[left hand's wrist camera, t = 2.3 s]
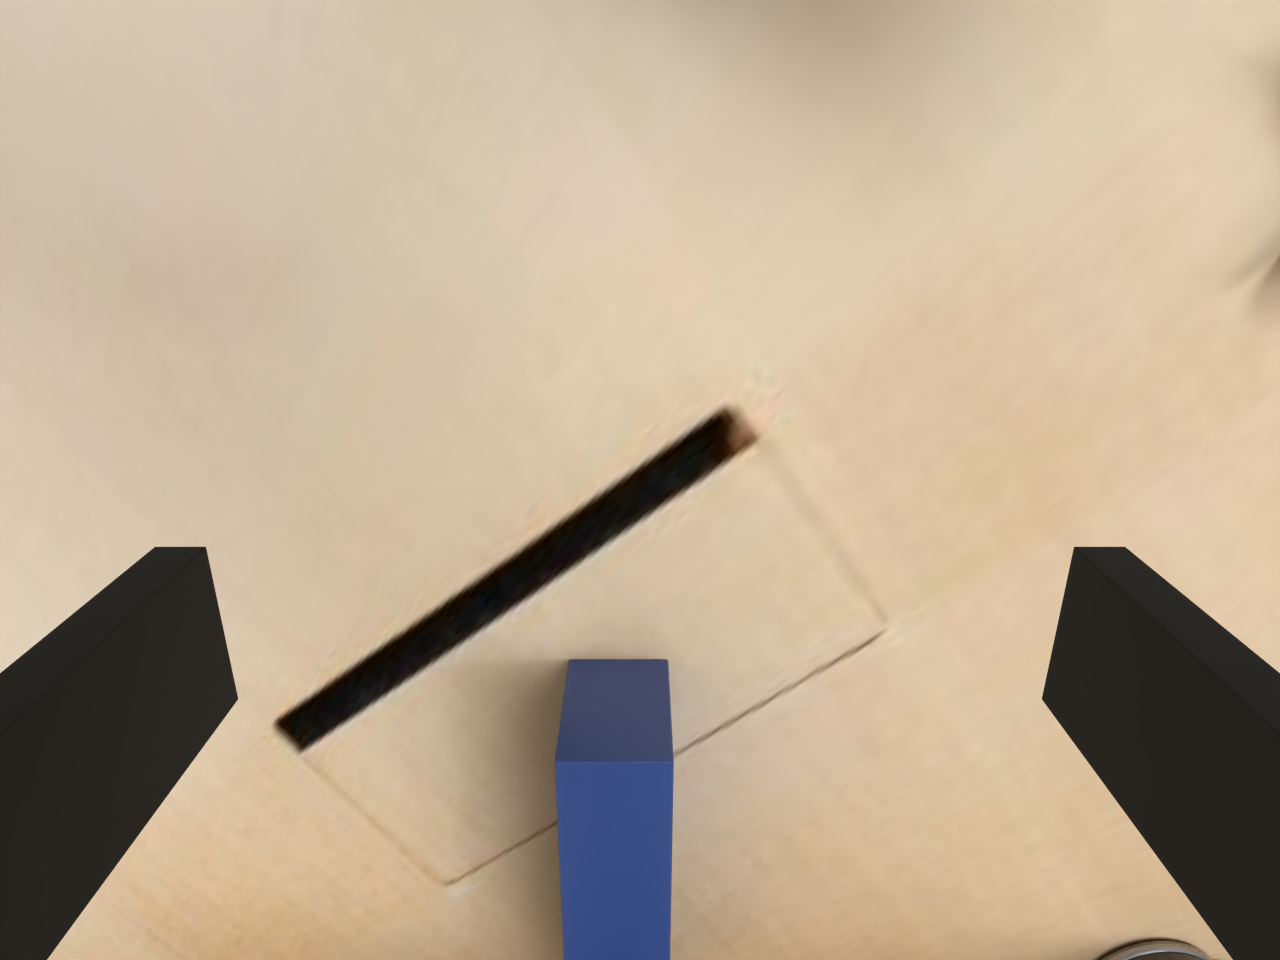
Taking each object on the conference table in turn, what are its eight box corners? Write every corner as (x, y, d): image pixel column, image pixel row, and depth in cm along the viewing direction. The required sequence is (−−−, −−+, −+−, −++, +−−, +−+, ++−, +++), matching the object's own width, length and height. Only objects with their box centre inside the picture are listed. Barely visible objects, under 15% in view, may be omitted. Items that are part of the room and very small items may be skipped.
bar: (568, 659, 46) (554, 761, 39) (668, 659, 46) (673, 761, 39) (580, 987, 56) (571, 1122, 48) (663, 987, 56) (666, 1122, 48)
